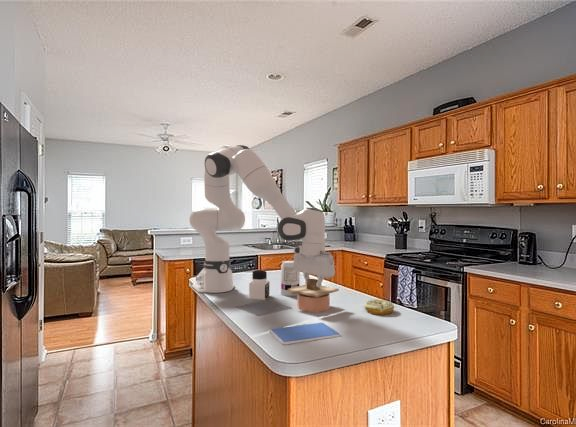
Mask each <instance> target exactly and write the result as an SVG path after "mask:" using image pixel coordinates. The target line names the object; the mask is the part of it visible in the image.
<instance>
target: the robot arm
mask: <svg viewBox="0 0 576 427" xmlns="http://www.w3.org/2000/svg"><path fill="white" fill-rule="evenodd" d="M234 174H237V175H238V176H239V177H240V179H241V181H242V182H243V183H244V185H245V186H246V188H247V189H248V190H249V191H250V192H251V193H252V194H253V195H254V196H255V197H258V198H259V199H262V200H264V201H266V202H267V203H268V204H269V205H270V206H271V207H272V208H273V210H274V211H275V212H276V214H277V215H278V216H279V218H280V219H281V220H280V221H279V222H278V225H277V233H278V235H279V237H280V238H281V239H282V240H284V241H287V242H293V241H300V240H301V245H298V246H296V247H293V253H294V254H293V261H294V269H295V271H299V272H300V273H303V274H302V275H303V278H304V280H305V282H304V283H305V284H304V285H306V284H307V279H311V278H310V275H314V276H316V278H317V280H318V281H317V282H315V284H316V285H315V286H316V287H318V288H319V287H321V286H322V283H323V281H324V279H325V278H327V279H330V278H333V277H334V276H335V275H336V270H335V261H334V256H333V254H332V253H331V252H330V251H326V240H325V234H326V219H325V214H324V212H323V210H320V209H318V208H315V207H305V208H303V209H302V210H300V211H299V212H295V210H294V209H293V208H292V207H291V206H292V205H290V204H289V202H288V201H287V199H286V198H285V196H284V195H283V194H282V192H281V190H280V188H279V186H278V185H277V183H276V181H275V179H274V176H273V175H272V173H271V172H270V170H269V168H268V167H267V166H266V164H265V162H263V160H262V159H261V158H260V157H259V155H257V153H255V152H254V151H253V149H250V148H249V146H247V145H243V144H239V145H238V144H237V145H235V146H228V147H225V148H222V149H220V150H217V151H214V152H211V153H208V154H207V155H206V157H205V159H204V176H203V177H204V178H203V181H204V182H203V183H204V197H205V200H207V202H208V203H209V204H212V205H214V206H215V207H200V208H195V209H193V210H192V211H191V213H190V215H189V218H188V219H189V224H190V226H191V227H192V229H193V230H195V231H196V232H197V233H198V234H199V235H200V236H201V237H202V238H201V239H202V240H203V242H204V249H205V250H204V251H205V260H204V261H203V268H202V269H201V270H200V272H199V273H198V274H197V275H196V277H195V281H196V283H193V284H191V288H193V289H194V290H195V291H196V292H198V293H211V294H212V293H215V294H216V293H219V294H220V293H226V292H230V291H232V290H233V288H234V289H235V288H236V284H234V279H233V271H232V269H231V259H230V244H229V242H228V241H227V240H226V239H224V238H222V237H220V236H218V235H217V232H218V231H219V232H220V231H221V232H223V231H227V232H231V231H237V230H241V229H242V228H243V227H244V225H245V223H246V217H245V216H246V215H245V213H244V212H243V210H242V209H240V208H239V207H238V206H236V205H235V204H234V202H233V200H232V198H231V193H230V192H231V191H230V189H231V188H230V176H231V175H234Z"/></svg>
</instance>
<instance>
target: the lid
mask: <svg viewBox="0 0 576 427" xmlns="http://www.w3.org/2000/svg"><path fill="white" fill-rule="evenodd" d="M317 281H318V278H317V279H316V278H310V279H307V284H302V285H299V286H298V287H294V288H289V289H288V291H290V292H294V293H299V294H304V295H308V296H313V297H319V296H323V295H326V294H333V293H335V292H338V291H340V290H339V288H337V287H333V286H332V287H331V286H325V285H321V287H319V288H318V287H316V286H315V285H316V284H315V282H317Z"/></svg>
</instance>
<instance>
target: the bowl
mask: <svg viewBox="0 0 576 427" xmlns="http://www.w3.org/2000/svg"><path fill="white" fill-rule="evenodd" d="M330 295H331V293H329V294H326V295H323V296H319V297H313V296H308V295H304V294H299V293H297V296H296V297H297V298H296V299H297V300H296V301H297V302H296V303H297V304H296V306H297V309H298V310H300V311H303V312H311V313H312V312H313V313H317V312H318V313H320V312H326V311H328V310H329V309H330V305H331V304H330V299H331V298H330V297H331V296H330Z"/></svg>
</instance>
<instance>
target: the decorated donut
mask: <svg viewBox="0 0 576 427" xmlns="http://www.w3.org/2000/svg"><path fill="white" fill-rule="evenodd" d="M363 307H364V309H365V310H366V311H367V312H368V313H369V314H371V315H377V316H381V315H385V316H386V315H390V314H392V313H393V311H394V309H395V305H394V303H393V302H391V301H388V300H384V299H377V298H376V299H369V300H368V301H365V303H364V306H363Z"/></svg>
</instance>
